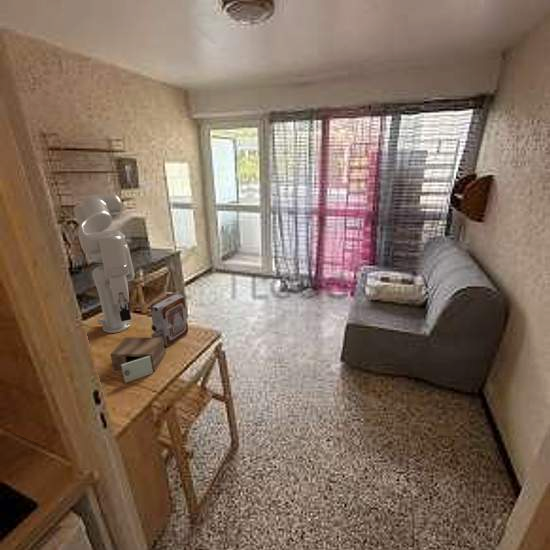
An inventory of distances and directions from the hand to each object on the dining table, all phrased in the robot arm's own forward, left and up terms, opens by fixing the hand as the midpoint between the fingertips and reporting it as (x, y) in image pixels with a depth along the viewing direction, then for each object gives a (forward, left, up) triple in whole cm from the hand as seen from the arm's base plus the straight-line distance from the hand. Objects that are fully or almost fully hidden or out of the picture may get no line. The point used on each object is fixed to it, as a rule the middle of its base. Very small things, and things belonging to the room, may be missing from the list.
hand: (125, 314), depth 119 cm
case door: (+3, -5, -24) cm, 25 cm away
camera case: (-1, +5, -24) cm, 25 cm away
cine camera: (+5, +21, -25) cm, 33 cm away
